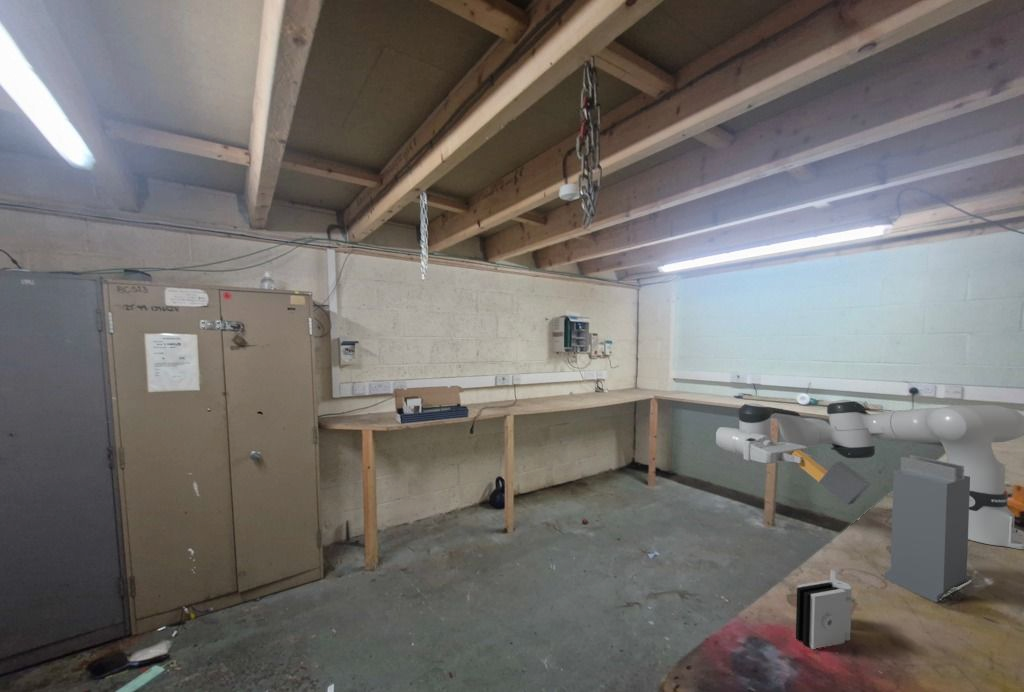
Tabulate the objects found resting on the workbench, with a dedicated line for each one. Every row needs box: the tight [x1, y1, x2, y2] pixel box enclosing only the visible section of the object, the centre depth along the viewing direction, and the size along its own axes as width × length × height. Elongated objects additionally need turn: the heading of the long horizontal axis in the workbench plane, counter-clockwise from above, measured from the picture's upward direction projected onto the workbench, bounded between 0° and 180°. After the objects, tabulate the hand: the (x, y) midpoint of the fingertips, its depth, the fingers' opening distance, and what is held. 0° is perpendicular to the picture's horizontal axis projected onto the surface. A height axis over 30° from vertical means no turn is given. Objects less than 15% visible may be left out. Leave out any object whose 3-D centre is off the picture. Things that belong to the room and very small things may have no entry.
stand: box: [883, 454, 973, 603], centre depth 91 cm, size 18×9×29 cm, turn 114°
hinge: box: [795, 569, 852, 650], centre depth 74 cm, size 14×5×10 cm, turn 116°
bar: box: [792, 450, 872, 506], centre depth 110 cm, size 3×18×8 cm, turn 24°
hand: (806, 459), depth 116 cm, fingers closed on bar, 3 cm apart
